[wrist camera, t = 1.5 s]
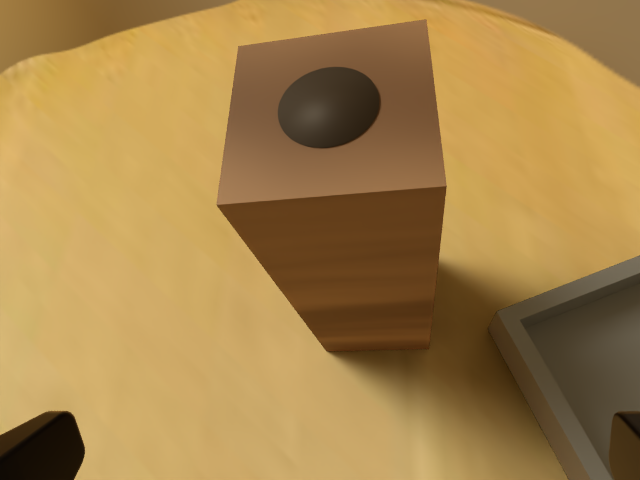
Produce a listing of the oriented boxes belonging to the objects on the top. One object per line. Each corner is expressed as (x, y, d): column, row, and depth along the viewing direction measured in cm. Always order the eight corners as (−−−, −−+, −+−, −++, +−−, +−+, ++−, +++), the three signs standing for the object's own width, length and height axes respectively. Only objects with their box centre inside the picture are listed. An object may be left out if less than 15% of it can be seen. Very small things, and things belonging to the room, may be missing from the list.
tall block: (428, 348, 20) (446, 184, 8) (326, 351, 21) (215, 203, 9) (421, 254, 22) (426, 17, 10) (327, 259, 23) (238, 44, 11)
